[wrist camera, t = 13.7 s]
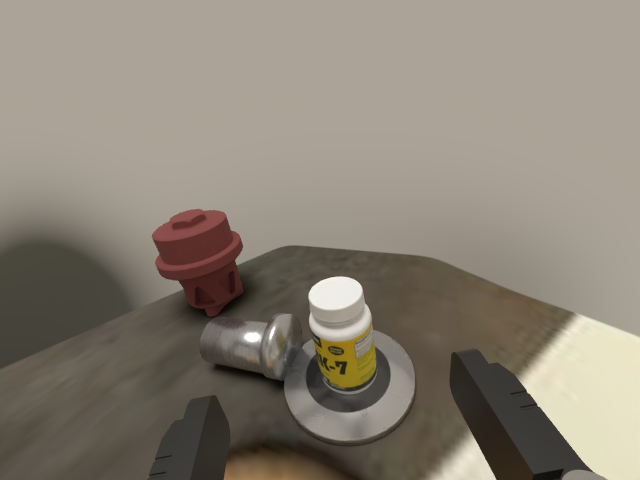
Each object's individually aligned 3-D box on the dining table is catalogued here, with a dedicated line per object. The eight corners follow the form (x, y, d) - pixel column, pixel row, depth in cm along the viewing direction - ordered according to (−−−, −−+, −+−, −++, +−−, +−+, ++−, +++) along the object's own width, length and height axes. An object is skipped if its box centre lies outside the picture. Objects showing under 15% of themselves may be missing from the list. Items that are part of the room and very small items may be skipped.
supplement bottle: (310, 376, 26) (289, 297, 22) (345, 342, 29) (331, 267, 25) (354, 408, 23) (338, 322, 19) (389, 366, 26) (381, 284, 22)
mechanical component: (216, 336, 34) (164, 316, 39) (271, 286, 42) (221, 274, 47) (175, 239, 29) (121, 230, 34) (247, 200, 36) (193, 198, 41)
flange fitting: (185, 402, 27) (160, 357, 25) (250, 318, 36) (237, 279, 34) (407, 465, 20) (404, 409, 17) (419, 340, 29) (418, 292, 26)
